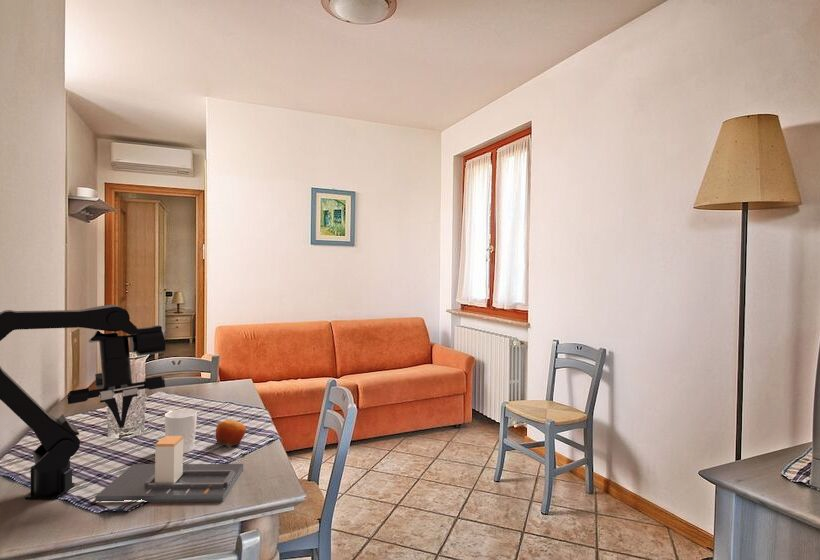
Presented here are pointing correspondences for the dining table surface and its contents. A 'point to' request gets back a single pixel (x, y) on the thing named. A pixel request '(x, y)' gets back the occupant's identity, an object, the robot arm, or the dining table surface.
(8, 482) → the dining table surface
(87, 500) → the dining table surface
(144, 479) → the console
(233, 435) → the fruit
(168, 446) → the fader cap
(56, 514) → the dining table surface
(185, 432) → the white cup
